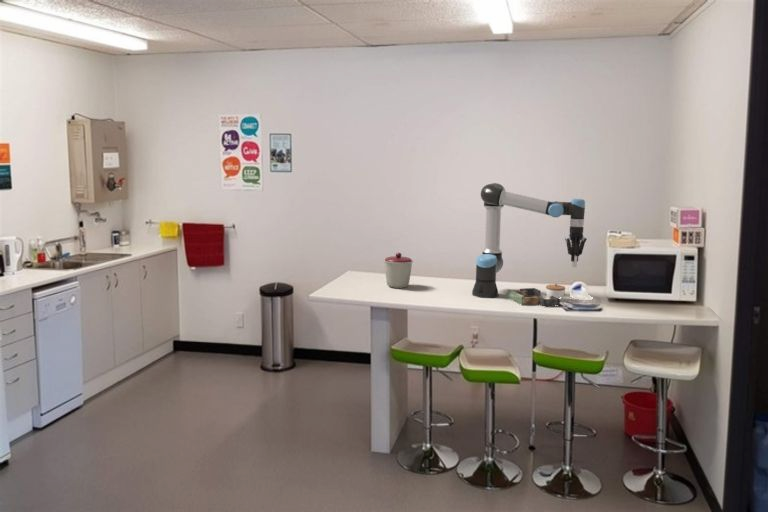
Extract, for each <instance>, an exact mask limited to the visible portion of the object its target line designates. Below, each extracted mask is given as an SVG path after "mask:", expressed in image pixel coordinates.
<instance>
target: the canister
mask: <svg viewBox="0 0 768 512" xmlns="http://www.w3.org/2000/svg"><path fill="white" fill-rule="evenodd" d="M383 262H384V270H385V271H384V272H385V280H386V284H387V285H386V286H388V287H390V288H392V289H393V288H395V289H404V288H407V287H408V286H409V285H410V279H411V274H412V273H411V272H412V267H413V265H412V264H413V262H414V260H413V259H411V258H410V257H407V256H402V253H400V252H396V253H395V255H393V256H388V257H386V258H384V259H383Z"/></svg>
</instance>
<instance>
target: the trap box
mask: <svg viewBox="0 0 768 512" xmlns="http://www.w3.org/2000/svg"><path fill="white" fill-rule="evenodd" d="M541 294H542V293H541V290H540V289H538V288H535V287H530V288H529V287H528V288H519V290H515V291H514V290H512V289H508V290H507V299H508V298H509V300H510V299H511V300H510V301H512V300H513V302H514V301H515V303H516V302H517V304H518V303H519V305H520V304H521V306H526V305H525V304H535V305H539V304H540V305H539V306H541V305H542V306H541V307H543V306H551V307H556V306H555V305H559V306H560V302H561V300H560V299H559V298H556V297H554V296H550V299H549V298H544V297H542V296H541Z"/></svg>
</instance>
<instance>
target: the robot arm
mask: <svg viewBox="0 0 768 512" xmlns="http://www.w3.org/2000/svg"><path fill="white" fill-rule="evenodd" d="M480 199H481V200H482V201H483V207H484V208H485V209H486V210H485V213H486V214H485V237H484V238H485V240H484V243H485V244H484V245H485V246H484V247H485V248H484V249H483V250H482V252H481V253H482V254H479V255H478V256H477V257H476V261H475V263H476V265H475V266H476V268H475V283H474V285H473V288H472V291H471V295H472V296H475V297H476V298H477V297H479V298H485V297H488V298H490V297H491V298H496V297H499V291H498V285H497V282H496V281H497V273H498V272H500V271H501V269H503V266H504V260H503V251H502V250H501V248H500V246H501V245H500V244H501V243H500V241H501V217H502V216H501V215H502V213H501V212H502V209H503V208H504V206H507V207H511V208H512V207H513V208H517V209H520V210H525V211H530V212H533V213H538V214H542V215H547V216H550V217H552V218H559V217H561V216H570V218H569V219H570V221H569V225H570V226H569V235H568V236H567V237H565V238H564V240H565V242H566V243H565V244H566V248H567V255H570V261H571V267H572V268H577V266H578V265H577V264H578V261H579V257H580V255H583V251H584V247H585V244H586V241H587V240H588V239H587V238H586V237H584V227H583V226H584V225H585V223H584V222H585V213H586V211H585V210H586V201H585V199H583V198H571V201H549V200H544V199H540V198H535V197H531V196H526V195H522V194H518V193H514V192H508V191H506V189H505V188H504V186H503V185H501V184H500V183H498V182H497V183H496V182H493V183H492V182H491V183H489V184H486V185H484V186H483V187H482V189H481V191H480Z"/></svg>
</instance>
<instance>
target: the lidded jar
mask: <svg viewBox="0 0 768 512" xmlns="http://www.w3.org/2000/svg"><path fill="white" fill-rule="evenodd" d="M565 292H566V287H565V286H564V285H561V284H560V285H559V284H557V283H554V284H548V285H546V286H545V295H546V297H547V299H550V296H554V297H556V298H560V297H563V298H564V296H565Z"/></svg>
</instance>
